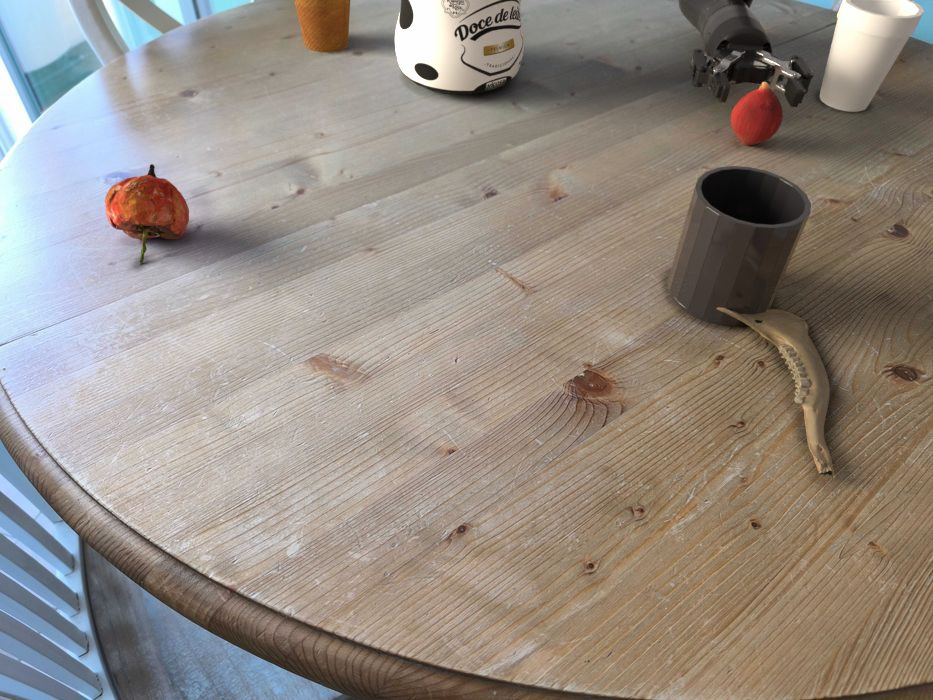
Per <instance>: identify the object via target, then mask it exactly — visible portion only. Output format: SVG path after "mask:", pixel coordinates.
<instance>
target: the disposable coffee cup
mask: <svg viewBox="0 0 933 700" xmlns="http://www.w3.org/2000/svg"><path fill="white" fill-rule="evenodd" d="M294 5H295V9H296V14H297V16H298V17H297V18H298V22H299V26H300V31H301V35H302V39H303V43H304V47H305V48H306V49H308V50H310V51H312V52H316V53H335V52H339V51H342V50H344V49H345V48H347V47H348V45H349V32H350V31H349V30H350V15H351V14H350V13H351V0H294Z"/></svg>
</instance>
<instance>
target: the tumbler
mask: <svg viewBox="0 0 933 700" xmlns="http://www.w3.org/2000/svg"><path fill="white" fill-rule="evenodd" d="M811 211H812V203H811V200H810V199H809V197H808V194H807V193H806V192H805V191H804V190H803V189H802V188H801V187H799V186H798V185H797V184H796V183H794V182H793V181H791V180H789V179H787V178H785V177H784V176H782V175H779V174H776V173H774V172H771V171H770V170H769V171H768V170H766V169H765V170H764V169H760V168H756V167H751V166H740V165H729V166H720V167H719V166H718V167H715V168H713V169H710V170H707V171H705V172H704V173H702V175H700V176H699V177H697V179H696V182H695V185H694V189H693V193H692V195H691V199H690V203H689V206H688V209H687V213H686V217H685V219H684V224H683V227H682V230H681V233H680V237H679V241H678V243H677V247H676V251H675V255H674V258H673V262H672V265H671V268H670V272H669V276H668V278H667V291H668V294H669V296H670V298H671V299H672V301H673V302H674V303H675V305H677V307H679V308H680V309H681V310H682V311H684V312H685V313H686V314H688V315H690V316H692V317H693V318H695V319H697V320H700V321H703V322H705V323H708V324H712V325H717V326H723V327H744V326H748V325H747V324H745V323H744V322H742V321H740V320H738V319H736V318H734V317H732V316H731V315H729V314H726V313H724V312H722V311H719V310H717V309H716V308H726V309H728V310H732V311H735V312H737V313H739V314H758V313H763V312H766V311H767V309H771V307H772V304H773V302H774V300H775V298H776V295H777V293H778V290H779V288H780V286H781V283H782V281H783V278H784V277H785V274H786V271H787V269H788V267H789V264H790V262H791V260H792V257H793V255H794V253H795V250H796V248H797V246H798V243H799V242H800V239H801V236H802V234H803V232H804V230H805V226H806V225H807V222H808V220H809V218H810V215H811Z"/></svg>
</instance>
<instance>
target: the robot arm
mask: <svg viewBox="0 0 933 700" xmlns="http://www.w3.org/2000/svg"><path fill="white" fill-rule="evenodd" d="M677 1H678V9H679V11H680V12H681V14H682V15H683V17H684V18H685V19H686V20H687V21H688V22H689V23H690V25H692V27H694V28H695V29H696V30H697V31H698V32H699V33H700V36H701V39H702V41H703V48H704V50H703V49H700V48H695V49H693V53H692V57H691V61H690V64H689V74H690V79H691V83H692V86H693V87H695V88H702V87H703V86H704V85H705V86H707V89H708V90H710V91H711V93H712V95H713V97H714V98H716V99H718V102H719V103H727V101H728V98H729V95H730V91H731V85H741V84H744V83H745V84H746V83H747V84H748V83H749V84H751V85H753V86H755V85H757V86H759V87H760V86H761V84H762V82H767V83H768V84H769V88H770V89H771V90H772V92H774V91H779V92H780V93H783V96H784V97H785V99H786V101H787V103H788V105H789V107H790V108H798V107H799V105H801V104H802V103H803V100H804V97H805V95H807V94H808V92H809V88H810V85H811V83H812V80H813V78H814V76H815V73H814V72H813V70H812V69H811V67H810V66H809V65H808V64H807V62H806V61H805V60H804V58H802V57H801V56H800V55H797V54H796V55H792V56H791V58H790V60H780V58H779V57H778V56H776V55H775V54H773V48H772V47H773V46H772V42H771V40H770V38H769V36H768V34H767V32H766V31H765V29H764V28H763V26H762V24H761V22H760V20H759V18H758V17H757V16H756V15H755V14H754V13H753V12H752V11H751V9H750V8H751V6H752V4H753V3H754V0H677ZM708 68H710V69H708ZM770 79H771V81H770ZM784 79H785V80H787V81H786V84H784V83H783V80H784Z"/></svg>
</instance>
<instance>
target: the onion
mask: <svg viewBox="0 0 933 700" xmlns="http://www.w3.org/2000/svg"><path fill="white" fill-rule="evenodd" d="M730 114H731V115H730V126H731V129H732V131H733V132H734V134H735V135H736V136H737V138H738V139H739V141H740V143H741V144H742V145H743V146H747V147H750V146H754V145H757V144H760V143H764V142H766V141H768V140H770V139H771V138H772V137H773V136H775V134H776V133H777V132H778V130H779V129H780V127H781V125H782V123H783V118H784V110H783V106H782V104H781V101H780V100H779V97H778V96H777V94H776V93H774V91H772V90H771V89H770V88H769V84H768V83H767V82H762V84H761V86H759V88H756V89H753V90H751V91H749V92H748V93H746V94H744V95H743V96H742V97H741V98H739V100H738V101H737V102H736V104H735V105H734V107H733V108H732V110H731V113H730Z"/></svg>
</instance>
